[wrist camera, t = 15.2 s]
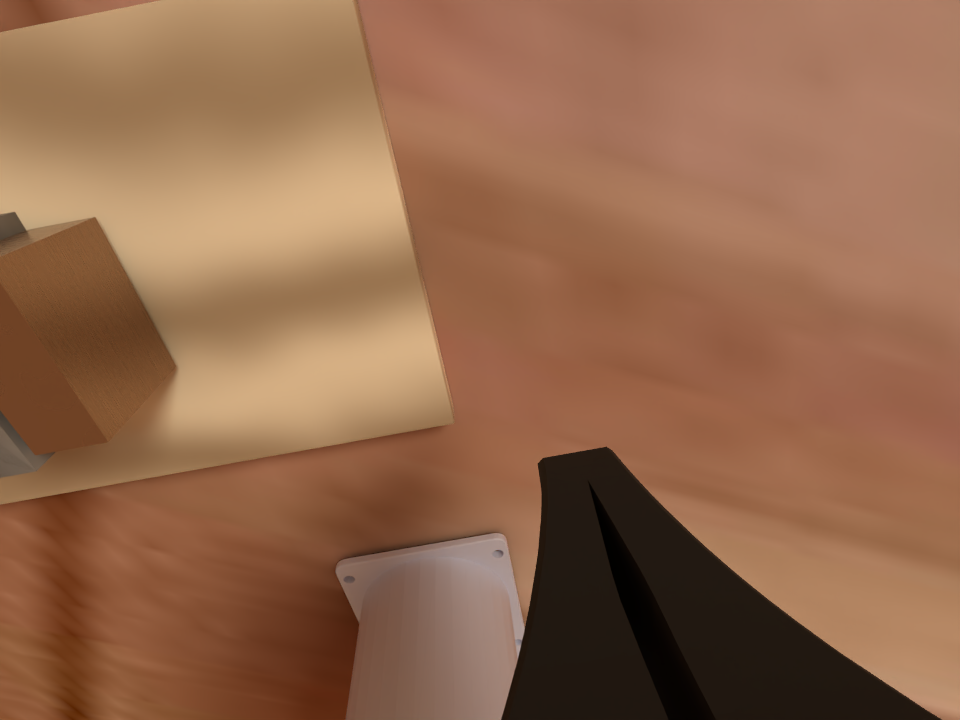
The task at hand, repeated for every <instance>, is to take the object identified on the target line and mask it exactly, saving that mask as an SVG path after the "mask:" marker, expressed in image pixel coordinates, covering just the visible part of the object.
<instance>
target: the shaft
mask: <svg viewBox="0 0 960 720" xmlns="http://www.w3.org/2000/svg"><path fill="white" fill-rule="evenodd" d="M175 367H176V365H175V363H174V361H173V359H172V357H171V356H170V354H169V352H168V350H167V348H166V346H165V344H164V343H163V341H162V339H161V337H160V335H159V333H158V332H157V330H156V328H155V326H154V324H153V322H152V320H151V319H150V317H149V315H148V313H147V311H146V309H145V308H144V306H143V304H142V302H141V300H140V298H139V296H138V295H137V293H136V291H135V289H134V287H133V285H132V284H131V282H130V280H129V278H128V276H127V274H126V272H125V271H124V269H123V267H122V265H121V263H120V261H119V260H118V258H117V256H116V254H115V252H114V250H113V248H112V247H111V245H110V243H109V241H108V239H107V237H106V236H105V234H104V232H103V230H102V228H101V226H100V224H99V223H98V221H97V219H96V217H92V218H87V219H82V220H76V221H71V222H66V223H61V224H55V225H50V226H45V227H40V228H34V229H29V230H26V231H23V232H20V233H18V234H15V235H13V236H10V237H7V238H5V239H2V240H0V411H1V412H2V414H3V415H4V416H5V417H6V419H7V420H8V421H9V422H10V424H11V425H12V426H13V428H14V429H15V430H16V431H17V433H18V434H19V435H20V437H21V438H22V439H23V440H24V442H25V443H26V444H27V445H28V447H29V448H30V449H31V451H32V452H33V453H34V454H35V455H41V454H46V453H52V452H57V451H63V450H68V449H74V448H79V447H85V446H90V445H96V444H102V443H107V442H109V441H110V440H111V439H112V438H113V437H114V436H115V434H116V433H117V432H118V431H119V430H120V429H121V428H122V427H123V425H124V424H125V423H126V422H127V421H128V420H129V419H130V418H131V417H132V415H133V414H134V413H135V412H136V411H137V410H138V409H139V408H140V406H141V405H142V404H143V403H144V402H145V401H146V400H147V399H148V398H149V396H150V395H151V394H152V393H153V392H154V391H155V390H156V389H157V387H158V386H159V385H160V384H161V383H162V382H163V381H164V380H165V379H166V377H167V376H168V375H169V374H170V373H171V372H172V371H173V370H174V369H175Z"/></svg>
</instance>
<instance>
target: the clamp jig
mask: <svg viewBox="0 0 960 720" xmlns="http://www.w3.org/2000/svg"><path fill="white" fill-rule="evenodd" d="M92 217H96V219H97V221H98V223H99V224H100V226H101V228H102V230H103V232H104V234H105V236H106V237H107V239H108V241H109V243H110V245H111V247H112V248H113V250H114V252H115V254H116V256H117V258H118V260H119V261H120V263H121V265H122V267H123V269H124V271H125V272H126V274H127V276H128V278H129V280H130V282H131V284H132V285H133V287H134V289H135V291H136V293H137V295H138V296H139V298H140V300H141V302H142V304H143V306H144V308H145V309H146V311H147V313H148V315H149V317H150V319H151V320H152V322H153V324H154V326H155V328H156V330H157V332H158V333H159V335H160V337H161V339H162V341H163V343H164V344H165V346H166V348H167V350H168V352H169V354H170V356H171V357H172V359H173V361H174V363H175V365H176V367H175V369H174V370H173V371H172V372H171V373H170V374H169V375H168V376H167V377H166V379H165V380H164V381H163V382H162V383H161V384H160V385H159V386H158V387H157V389H156V390H155V391H154V392H153V393H152V394H151V395H150V396H149V398H148V399H147V400H146V401H145V402H144V403H143V404H142V405H141V406H140V408H139V409H138V410H137V411H136V412H135V413H134V414H133V415H132V417H131V418H130V419H129V420H128V421H127V422H126V423H125V424H124V425H123V427H122V428H121V429H120V430H119V431H118V432H117V433H116V434H115V436H114V437H113V438H112V439H111V440H110V441H109V442H107V443H102V444H96V445H90V446H85V447H79V448H74V449H68V450H63V451H57V452H52V453H46V454H41V455H35V454H34V453H33V452H32V451H31V449H30V448H29V447H28V445H27V444H26V443H25V442H24V440H23V439H22V438H21V437H20V435H19V434H18V433H17V431H16V430H15V429H14V428H13V426H12V425H11V424H10V422H9V421H8V420H7V419H6V417H5V416H4V415H3V414H2V412H1V411H0V505H1V504H6V503H12V502H17V501H23V500H29V499H34V498H40V497H45V496H51V495H57V494H62V493H68V492H73V491H79V490H85V489H90V488H96V487H101V486H107V485H113V484H118V483H124V482H129V481H135V480H141V479H146V478H152V477H157V476H163V475H169V474H174V473H180V472H185V471H191V470H197V469H202V468H208V467H213V466H219V465H225V464H230V463H236V462H241V461H247V460H253V459H258V458H264V457H269V456H275V455H281V454H286V453H292V452H297V451H303V450H308V449H314V448H320V447H325V446H331V445H336V444H342V443H348V442H353V441H359V440H364V439H370V438H376V437H381V436H387V435H392V434H398V433H404V432H409V431H415V430H420V429H426V428H432V427H437V426H443V425H448V424H454V407H453V403H452V399H451V394H450V390H449V386H448V382H447V377H446V373H445V369H444V365H443V361H442V356H441V352H440V348H439V344H438V339H437V335H436V331H435V327H434V323H433V318H432V314H431V310H430V306H429V301H428V297H427V293H426V289H425V284H424V280H423V276H422V272H421V268H420V263H419V259H418V255H417V251H416V246H415V242H414V238H413V234H412V230H411V225H410V221H409V217H408V213H407V208H406V204H405V200H404V196H403V192H402V187H401V183H400V179H399V175H398V170H397V166H396V162H395V158H394V154H393V149H392V145H391V141H390V137H389V132H388V128H387V124H386V120H385V116H384V111H383V107H382V103H381V99H380V94H379V90H378V86H377V82H376V78H375V73H374V69H373V65H372V61H371V56H370V52H369V48H368V44H367V40H366V35H365V31H364V27H363V23H362V18H361V14H360V10H359V6H358V2H357V0H160V1H155V2H150V3H145V4H140V5H135V6H130V7H125V8H120V9H115V10H110V11H105V12H100V13H95V14H90V15H85V16H80V17H75V18H70V19H65V20H60V21H55V22H50V23H45V24H40V25H35V26H30V27H25V28H20V29H15V30H10V31H5V32H0V240H2V239H5V238H7V237H10V236H13V235H15V234H18V233H20V232H23V231H26V230H29V229H34V228H40V227H45V226H50V225H55V224H61V223H66V222H71V221H76V220H82V219H87V218H92Z"/></svg>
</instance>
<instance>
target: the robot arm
mask: <svg viewBox="0 0 960 720" xmlns="http://www.w3.org/2000/svg"><path fill="white" fill-rule="evenodd" d="M538 469H539V476H540V483H541V490H542V508H541V526H540V537H539V549H538V557H537V564H536V570H535V576H534V583H533V589H532V595H531V601H530V606H529V611H528V616H527V621H526V626H525V627H524V622H523V617H522V612H521V608H520V603H519V598H518V593H517V588H516V583H515V579H514V574H513V569H512V564H511V559H510V554H509V549H508V545H507V540H506V537H505V536H504V535H503V534H500V533H492V534H486V535H480V536H474V537H469V538H463V539H457V540H451V541H445V542H440V543H434V544H428V545H422V546H417V547H411V548H405V549H399V550H394V551H388V552H382V553H376V554H371V555H365V556H359V557H353V558H348V559H343V560H340V561H339V562H338V563H337V565H336V569H335V573H336V575H337V578H338V580H339V582H340V584H341V586H342V588H343V590H344V592H345V595H346V597H347V599H348V601H349V603H350V605H351V607H352V609H353V611H354V614H355V616H356V618H357V620H358V622H359V630H358V637H357V644H356V651H355V658H354V665H353V672H352V679H351V686H350V692H349V699H348V706H347V713H346V720H942V719H940V718H938V717H937V716H935V715H933V714H932V713H930V712H929V711H927V710H925V709H924V708H922V707H921V706H919V705H918V704H916V703H915V702H913V701H912V700H910V699H909V698H907V697H906V696H904V695H903V694H901V693H900V692H898V691H897V690H895V689H894V688H892V687H891V686H889V685H888V684H886V683H885V682H883V681H882V680H880V679H879V678H877V677H876V676H874V675H873V674H871V673H870V672H868V671H867V670H865V669H864V668H862V667H861V666H859V665H858V664H856V663H855V662H853V661H852V660H850V659H849V658H847V657H846V656H844V655H843V654H841V653H840V652H838V651H837V650H835V649H834V648H833V647H831V646H830V645H828V644H827V643H826V642H824V641H823V640H822V639H820V638H819V637H817V636H816V635H815V634H813V633H812V632H811V631H809V630H808V629H806V628H805V627H804V626H802V625H801V624H800V623H798V622H797V621H795V620H794V619H793V618H792V617H790V616H789V615H788V614H786V613H785V612H784V611H782V610H781V609H780V608H779V607H777V606H776V605H775V604H773V603H772V602H771V601H769V600H768V599H767V598H766V597H764V596H763V595H762V594H761V593H759V592H758V591H757V590H756V589H754V588H753V587H752V586H751V585H749V584H748V583H747V582H746V581H745V580H743V579H742V578H741V577H740V576H739V575H737V574H736V573H735V572H734V571H733V570H731V569H730V568H729V567H728V566H727V565H726V564H725V563H723V562H722V561H721V560H720V559H719V558H718V557H717V556H715V555H714V554H713V553H712V552H711V551H710V550H708V549H707V548H706V547H705V546H704V545H703V544H702V543H701V542H700V541H699V540H698V539H696V538H695V537H694V536H693V535H692V534H691V533H690V532H689V531H688V530H687V529H686V528H685V527H684V526H683V525H682V524H681V523H680V522H679V521H678V520H676V519H675V518H674V517H673V516H672V515H671V514H670V513H669V512H668V511H667V510H666V509H665V508H664V507H663V506H662V505H661V504H660V503H659V502H658V501H657V500H656V499H655V498H654V497H653V496H652V495H651V494H650V492H649V491H648V490H647V489H646V488H645V487H644V486H643V485H642V484H641V483H640V482H639V481H638V480H637V479H636V477H635V476H634V475H633V474H632V473H631V472H630V471H629V470H628V469H627V467H626V466H625V465H624V464H623V463H622V462H621V460H620V459H619V458H618V457H617V456H616V454H615V453H614V452H613V451H612V450H611V449H609V448H608V447H603V448H597V449H592V450H586V451H580V452H575V453H569V454H563V455H558V456H552V457H546V458H543V459H542V460H541V461H540V462H539V463H538ZM496 550H499V551H496Z"/></svg>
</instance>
